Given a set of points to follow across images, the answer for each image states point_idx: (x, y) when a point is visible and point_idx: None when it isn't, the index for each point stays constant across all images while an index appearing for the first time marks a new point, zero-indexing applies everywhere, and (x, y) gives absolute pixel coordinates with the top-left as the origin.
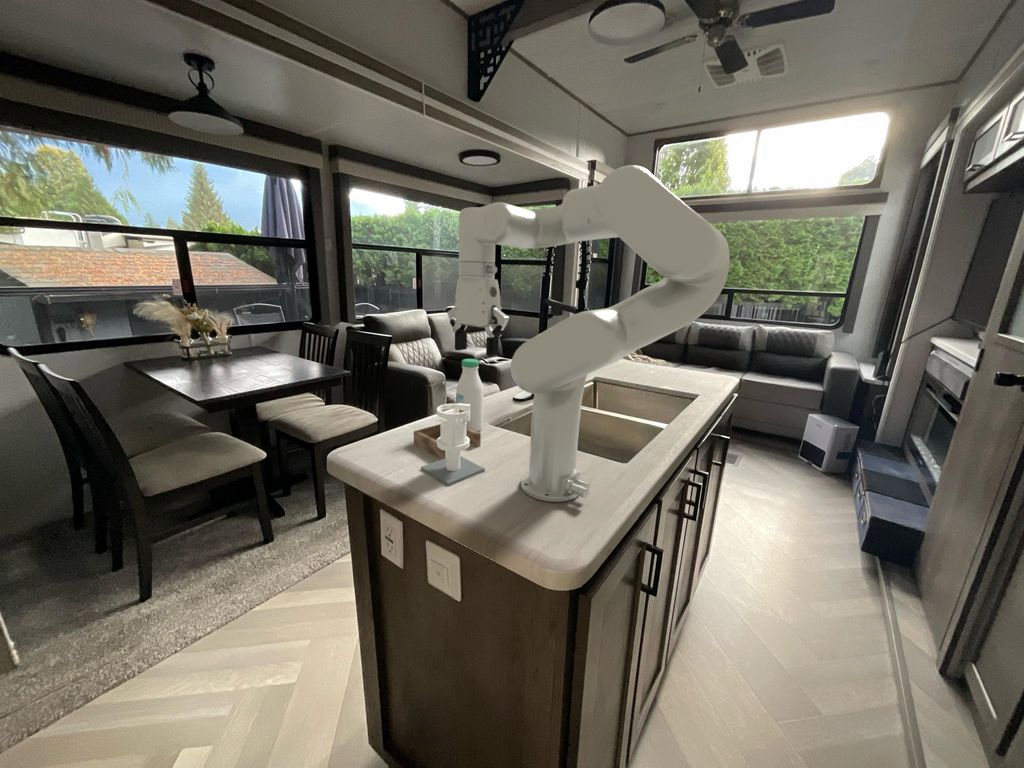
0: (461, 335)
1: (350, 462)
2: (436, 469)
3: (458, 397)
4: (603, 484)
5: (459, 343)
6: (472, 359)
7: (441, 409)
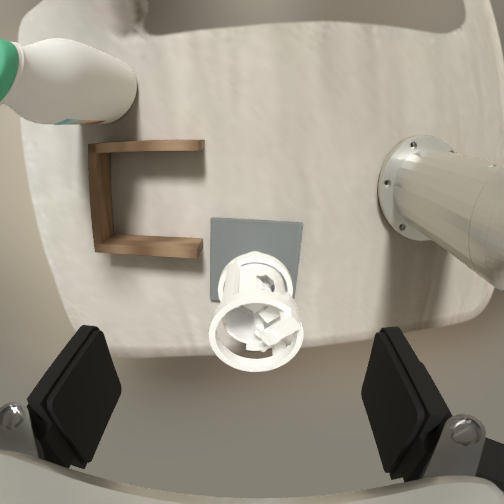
0: (80, 431)
1: (122, 348)
2: None
3: (56, 124)
4: (473, 124)
5: (104, 404)
6: None
7: (218, 340)
